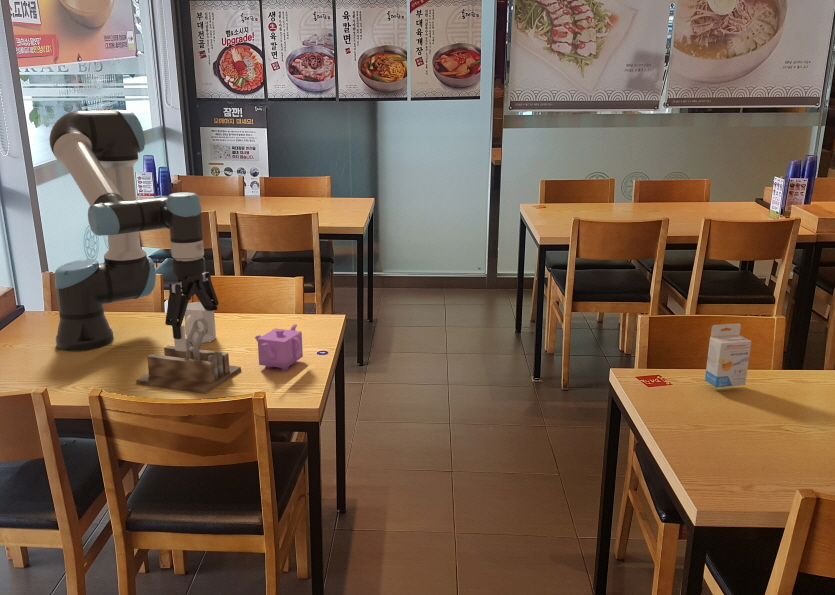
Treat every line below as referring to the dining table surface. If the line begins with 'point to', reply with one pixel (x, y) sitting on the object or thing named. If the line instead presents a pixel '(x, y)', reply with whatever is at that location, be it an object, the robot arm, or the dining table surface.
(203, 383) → the letter rack
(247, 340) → the dining table surface
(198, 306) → the mug
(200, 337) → the bracket
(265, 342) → the teapot
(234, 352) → the dining table surface
